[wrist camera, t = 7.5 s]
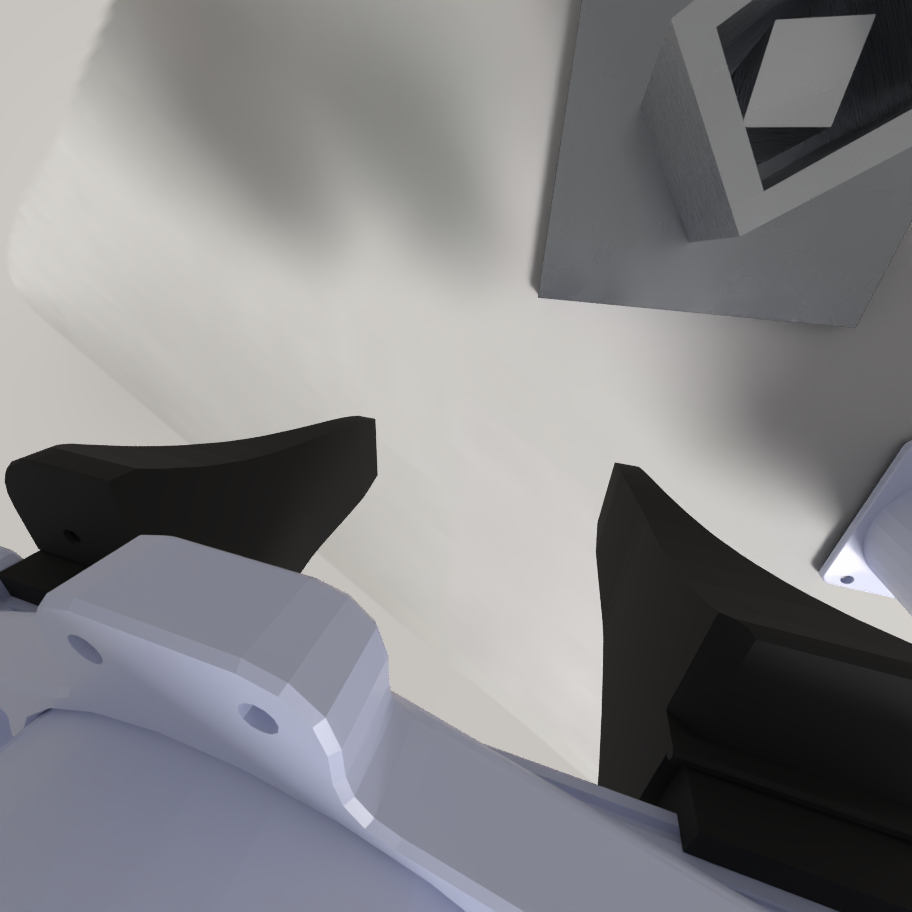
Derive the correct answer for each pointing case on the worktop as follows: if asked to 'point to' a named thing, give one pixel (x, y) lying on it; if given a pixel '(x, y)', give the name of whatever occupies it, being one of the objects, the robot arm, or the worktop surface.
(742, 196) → the sleeve
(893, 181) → the duct flange
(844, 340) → the worktop surface
